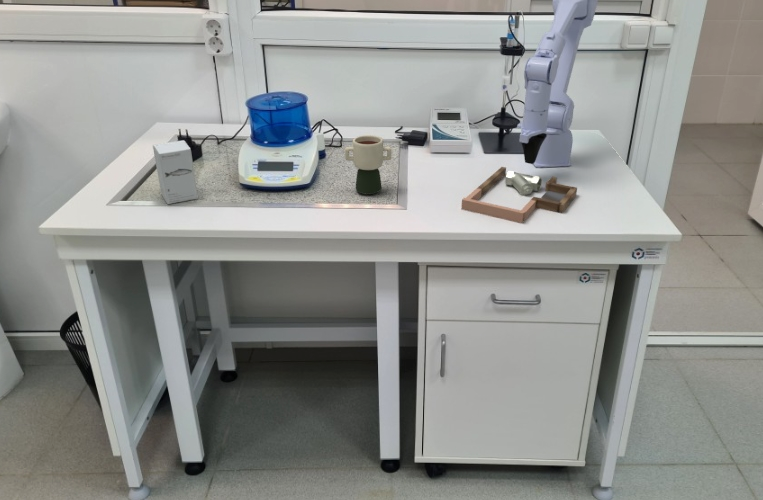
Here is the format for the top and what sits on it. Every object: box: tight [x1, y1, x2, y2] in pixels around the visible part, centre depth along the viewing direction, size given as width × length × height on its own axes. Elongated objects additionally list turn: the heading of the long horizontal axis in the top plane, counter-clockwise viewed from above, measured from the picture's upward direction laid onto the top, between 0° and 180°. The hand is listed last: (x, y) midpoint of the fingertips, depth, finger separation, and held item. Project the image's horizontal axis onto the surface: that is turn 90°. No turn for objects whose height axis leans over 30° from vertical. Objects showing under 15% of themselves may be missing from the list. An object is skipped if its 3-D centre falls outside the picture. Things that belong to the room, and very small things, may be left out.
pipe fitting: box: [504, 170, 543, 196], centre depth 153 cm, size 8×4×7 cm
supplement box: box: [152, 140, 199, 205], centre depth 148 cm, size 7×7×13 cm
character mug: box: [344, 134, 392, 195], centre depth 150 cm, size 11×7×13 cm, turn 90°
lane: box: [477, 166, 578, 214], centre depth 152 cm, size 16×20×2 cm
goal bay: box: [460, 187, 536, 224], centre depth 144 cm, size 9×14×2 cm, turn 59°
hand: (529, 162), depth 157 cm, fingers closed
